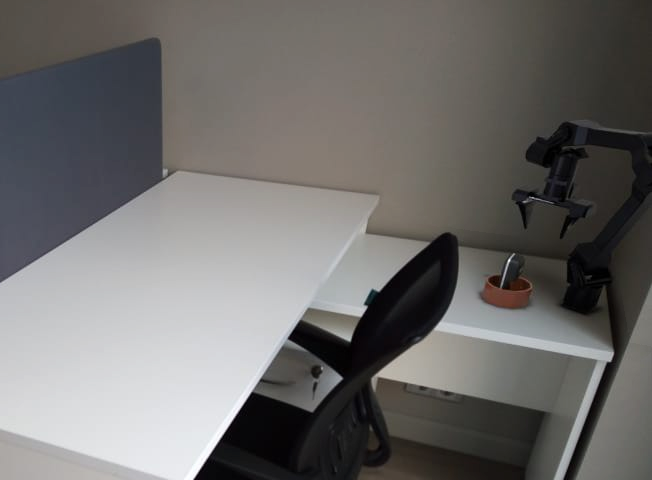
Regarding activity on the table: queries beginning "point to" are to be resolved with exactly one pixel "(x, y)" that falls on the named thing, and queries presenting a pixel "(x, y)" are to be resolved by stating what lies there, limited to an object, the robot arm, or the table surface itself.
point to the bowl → (507, 292)
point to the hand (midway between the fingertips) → (543, 233)
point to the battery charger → (511, 270)
